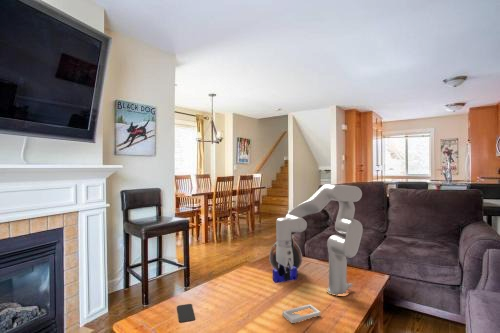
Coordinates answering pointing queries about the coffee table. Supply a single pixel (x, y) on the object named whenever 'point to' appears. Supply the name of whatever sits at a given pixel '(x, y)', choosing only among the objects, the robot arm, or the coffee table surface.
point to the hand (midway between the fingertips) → (284, 277)
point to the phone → (185, 313)
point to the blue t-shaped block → (281, 278)
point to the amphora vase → (296, 255)
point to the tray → (296, 317)
